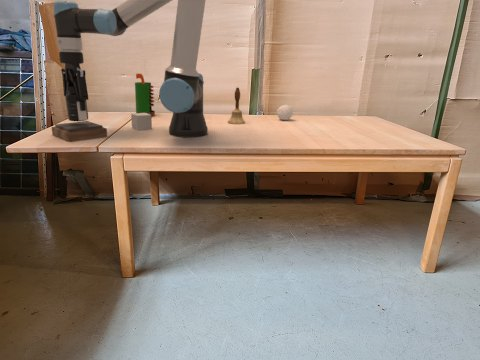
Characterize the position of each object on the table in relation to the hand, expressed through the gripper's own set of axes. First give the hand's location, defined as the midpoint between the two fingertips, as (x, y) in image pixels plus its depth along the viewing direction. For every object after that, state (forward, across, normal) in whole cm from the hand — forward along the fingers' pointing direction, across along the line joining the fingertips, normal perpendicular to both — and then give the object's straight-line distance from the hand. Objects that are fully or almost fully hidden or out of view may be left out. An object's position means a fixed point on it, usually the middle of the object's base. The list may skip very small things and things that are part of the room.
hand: (78, 118), depth 134 cm
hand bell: (+7, +16, +67) cm, 69 cm away
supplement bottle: (+1, 0, 0) cm, 1 cm away
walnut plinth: (+6, 0, 0) cm, 6 cm away
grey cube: (+7, +2, +25) cm, 26 cm away
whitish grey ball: (+7, +26, +91) cm, 95 cm away
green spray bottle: (+7, -24, +44) cm, 51 cm away
